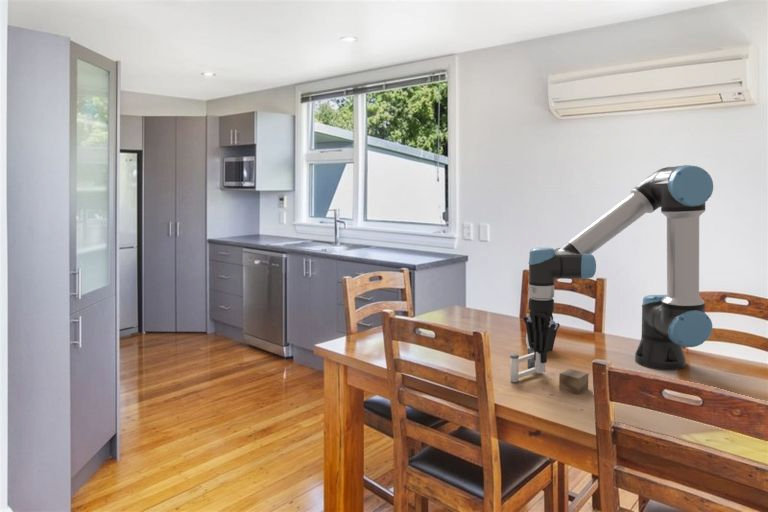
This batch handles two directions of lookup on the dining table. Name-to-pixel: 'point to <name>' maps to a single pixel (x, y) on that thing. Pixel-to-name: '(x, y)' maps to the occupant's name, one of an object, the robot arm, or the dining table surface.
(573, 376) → the block
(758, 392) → the dining table surface
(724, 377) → the dining table surface
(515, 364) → the gate
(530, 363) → the latch post
